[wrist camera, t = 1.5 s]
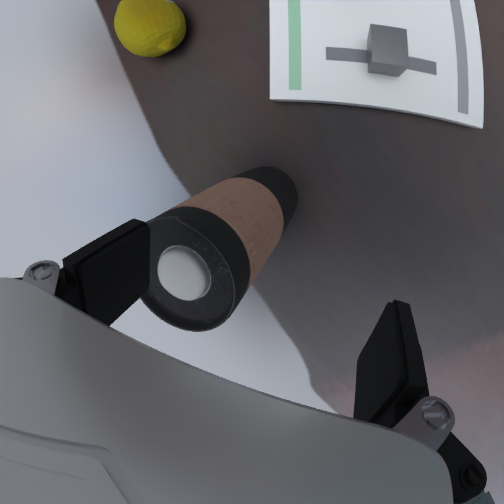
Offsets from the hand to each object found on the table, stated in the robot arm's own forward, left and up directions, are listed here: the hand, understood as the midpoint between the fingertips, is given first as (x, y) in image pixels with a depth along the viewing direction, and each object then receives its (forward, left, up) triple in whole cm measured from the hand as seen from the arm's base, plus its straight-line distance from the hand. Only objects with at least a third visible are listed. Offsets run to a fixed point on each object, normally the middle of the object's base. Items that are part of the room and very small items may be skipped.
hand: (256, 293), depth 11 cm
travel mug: (+6, +3, -24) cm, 25 cm away
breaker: (-6, -13, -20) cm, 25 cm away
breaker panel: (-6, -22, -24) cm, 33 cm away
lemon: (+19, -19, -24) cm, 36 cm away
